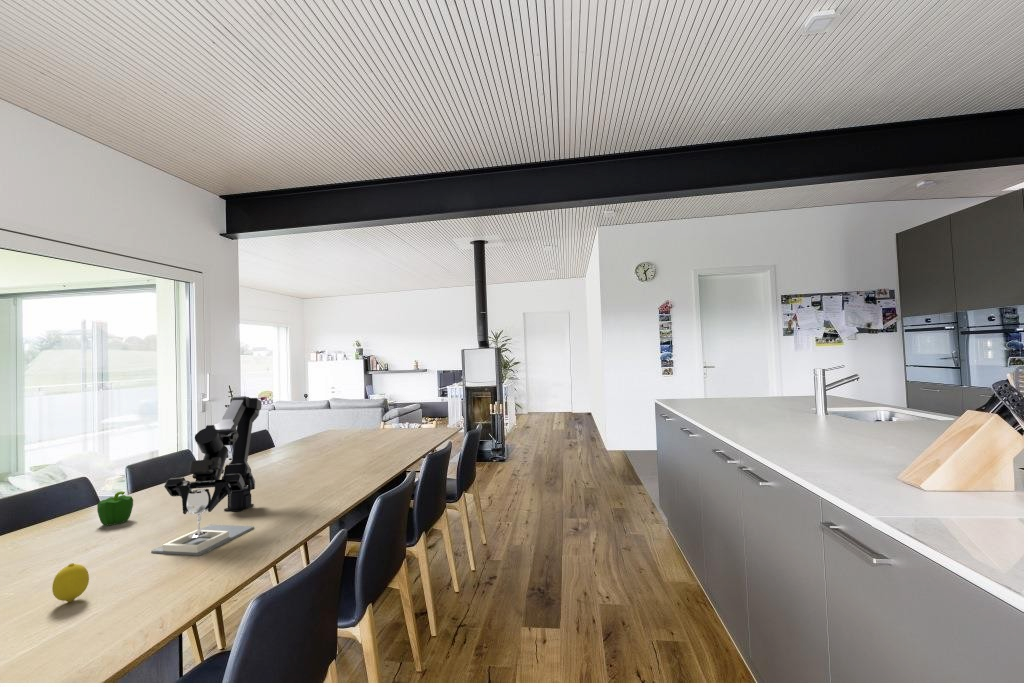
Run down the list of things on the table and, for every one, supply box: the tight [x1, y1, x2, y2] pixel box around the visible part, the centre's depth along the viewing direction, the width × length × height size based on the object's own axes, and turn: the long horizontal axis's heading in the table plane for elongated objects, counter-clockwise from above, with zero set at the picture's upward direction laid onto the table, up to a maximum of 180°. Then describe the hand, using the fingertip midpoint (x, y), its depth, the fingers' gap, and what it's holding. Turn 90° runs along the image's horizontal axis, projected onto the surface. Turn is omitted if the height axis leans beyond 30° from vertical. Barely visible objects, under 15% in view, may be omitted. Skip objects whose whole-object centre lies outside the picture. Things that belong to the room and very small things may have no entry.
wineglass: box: [186, 488, 212, 538], centre depth 125 cm, size 6×6×12 cm
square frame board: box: [151, 524, 255, 557], centre depth 127 cm, size 15×19×2 cm
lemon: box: [51, 562, 90, 603], centre depth 95 cm, size 6×6×8 cm
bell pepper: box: [96, 490, 134, 526], centre depth 143 cm, size 8×8×10 cm
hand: (196, 512), depth 123 cm, fingers closed on wineglass, 6 cm apart
